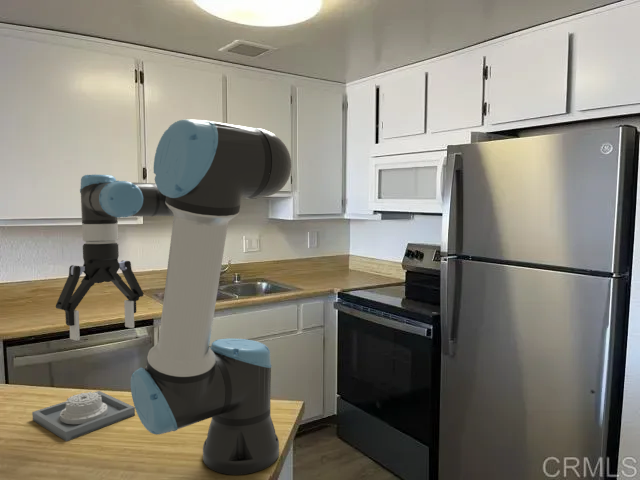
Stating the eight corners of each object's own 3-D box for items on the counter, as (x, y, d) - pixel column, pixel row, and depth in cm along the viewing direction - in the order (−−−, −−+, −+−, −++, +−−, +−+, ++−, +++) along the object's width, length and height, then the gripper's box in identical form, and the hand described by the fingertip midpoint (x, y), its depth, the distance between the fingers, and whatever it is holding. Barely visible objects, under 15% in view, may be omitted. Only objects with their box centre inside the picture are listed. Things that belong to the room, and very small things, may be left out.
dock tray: (134, 415, 115) (134, 407, 115) (66, 441, 102) (65, 432, 102) (99, 398, 125) (99, 390, 124) (32, 420, 112) (32, 411, 112)
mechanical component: (49, 423, 109) (88, 427, 107) (49, 404, 109) (88, 408, 107) (80, 405, 119) (116, 409, 117) (79, 387, 119) (116, 391, 116)
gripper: (138, 239, 124) (140, 320, 125) (35, 245, 104) (39, 342, 105) (156, 239, 120) (158, 324, 121) (53, 246, 99) (57, 348, 101)
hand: (103, 333), depth 113 cm, fingers open, 13 cm apart
